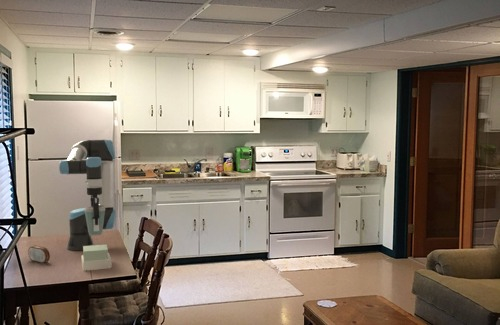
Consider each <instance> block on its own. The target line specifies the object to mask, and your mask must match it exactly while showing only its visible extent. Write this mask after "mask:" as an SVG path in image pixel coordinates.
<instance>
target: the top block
mask: <svg viewBox="0 0 500 325" xmlns="http://www.w3.org/2000/svg"><path fill="white" fill-rule="evenodd" d="M82 251H83V252H82V253H83V254H82V255H83V259H84V261H93V260H105V259H108V253H109V249H108V245H107V244H95V245H92V246H83V250H82Z"/></svg>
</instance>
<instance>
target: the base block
mask: <svg viewBox="0 0 500 325" xmlns="http://www.w3.org/2000/svg"><path fill="white" fill-rule="evenodd" d="M80 258H81V267H82V271H84V272H85V271H86V270H87V271H94V270H95V271H96V270H105V269H112V265H113V264H112V258H111V255H110V253H109V252H108V259H105V260H93V261H84V259H83V254H82V255H80Z"/></svg>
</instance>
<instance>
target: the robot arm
mask: <svg viewBox="0 0 500 325" xmlns="http://www.w3.org/2000/svg"><path fill="white" fill-rule="evenodd" d="M69 153H70V154H69V156H68V157H67V159H63V160H60V161H59V165H58V168H59V169H58V170H59V173H60V174H61V175H67V176H68V175H86V180H85V184H86V195H88V196H90V199H89V200H90V206H92V207H93V214H94V217H92V219H93V224H94V231H99V217H100V216H99V205H104V208H105V215H104V223H103V230H105V231H107V230H113V229H114V227H115V223H116V218H117V217H116V215H117V210H116V209H114V206H113V205H112V193H111V188H112V186H111V182H112V180H111V165H112V164H113V162H114V160H116V151H115V145H114V142H113V140H110V139H85V140H81V141H79V142H77V143H75V144H74V145H73V146H72V147H71V148H70V151H69ZM85 208H86V207H82V208H81V207H80V208H77V209H73V210H70V212H69V219H68V220H69V237H68V241H67V244H66V248H67V250H69V251H83V246H92V245H94V241H93V238H92V236H90V235H89V232H88V227H87V221H86V216H85V211H84V209H85Z"/></svg>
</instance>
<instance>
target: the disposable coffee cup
mask: <svg viewBox="0 0 500 325" xmlns="http://www.w3.org/2000/svg"><path fill="white" fill-rule="evenodd" d="M84 208H85V209H84V211H85V216H86V221H87V227H88V232H89V235H90V236H91V237H92V236H93V237H95V236H97V237H98V236H101V235H102V234H103V232H104V229H103V223H104V215H105V208H104V205H99V216H100V217H99V231H94V224H93V219H92V217H94V214H93V207H92V206H91V205H90V206H87V207H84Z"/></svg>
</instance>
